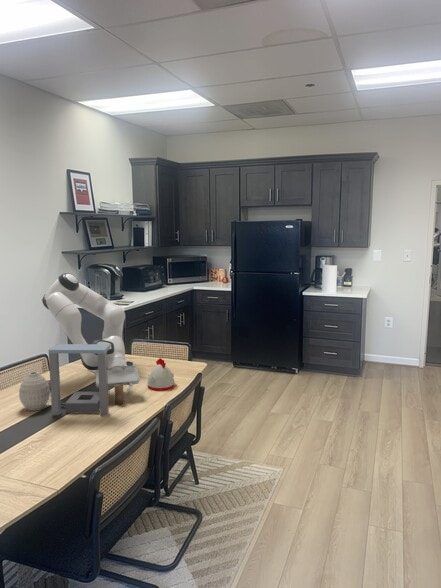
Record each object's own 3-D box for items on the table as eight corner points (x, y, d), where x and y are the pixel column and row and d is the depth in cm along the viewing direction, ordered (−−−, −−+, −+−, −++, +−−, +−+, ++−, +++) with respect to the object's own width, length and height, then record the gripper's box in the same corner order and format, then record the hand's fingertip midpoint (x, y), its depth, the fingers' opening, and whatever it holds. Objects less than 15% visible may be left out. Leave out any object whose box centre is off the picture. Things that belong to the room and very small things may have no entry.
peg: (113, 404, 202) (112, 385, 200) (118, 401, 205) (118, 383, 204) (119, 405, 200) (119, 387, 198) (125, 402, 203) (124, 384, 202)
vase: (21, 404, 200) (18, 370, 198) (50, 401, 205) (49, 367, 202) (19, 415, 189) (16, 379, 186) (50, 411, 193) (48, 375, 191)
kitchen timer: (156, 393, 216) (155, 364, 213) (142, 385, 226) (142, 357, 224) (179, 387, 224) (179, 359, 222) (165, 379, 235) (164, 353, 233)
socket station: (65, 400, 206) (62, 340, 201) (115, 400, 206) (113, 340, 201) (52, 415, 189) (48, 349, 185) (107, 415, 189) (104, 350, 185)
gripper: (94, 365, 204) (95, 393, 196) (138, 362, 209) (141, 388, 202) (94, 372, 208) (95, 398, 201) (137, 368, 214) (140, 394, 206)
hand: (118, 393), depth 201 cm, fingers open, 8 cm apart
